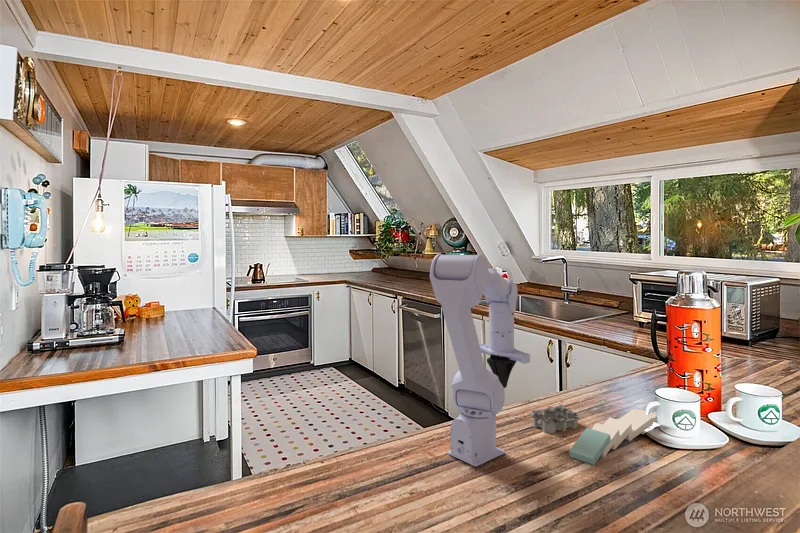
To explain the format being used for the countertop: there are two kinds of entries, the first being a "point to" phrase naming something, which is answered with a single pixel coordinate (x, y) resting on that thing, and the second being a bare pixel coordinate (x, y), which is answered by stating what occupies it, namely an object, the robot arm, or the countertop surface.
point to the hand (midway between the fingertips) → (501, 387)
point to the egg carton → (554, 419)
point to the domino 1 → (590, 446)
